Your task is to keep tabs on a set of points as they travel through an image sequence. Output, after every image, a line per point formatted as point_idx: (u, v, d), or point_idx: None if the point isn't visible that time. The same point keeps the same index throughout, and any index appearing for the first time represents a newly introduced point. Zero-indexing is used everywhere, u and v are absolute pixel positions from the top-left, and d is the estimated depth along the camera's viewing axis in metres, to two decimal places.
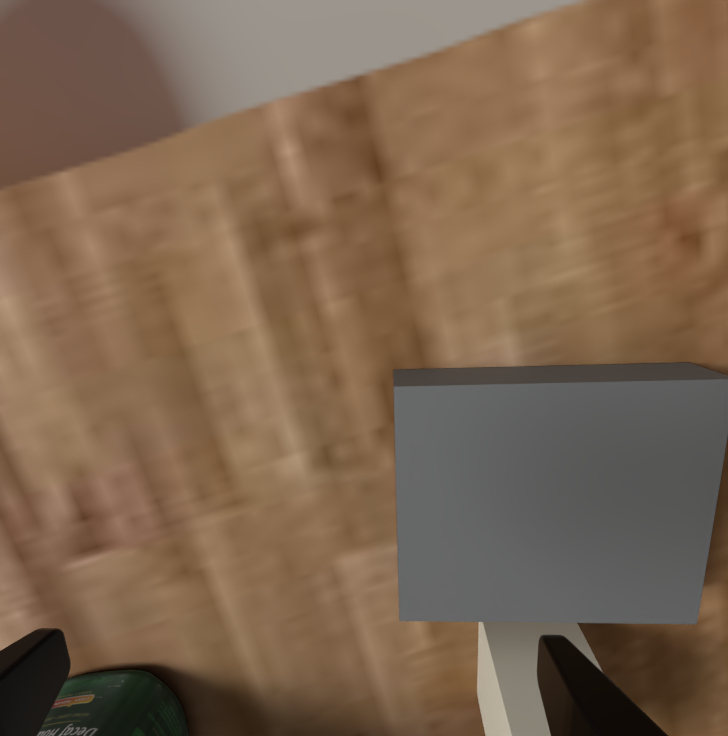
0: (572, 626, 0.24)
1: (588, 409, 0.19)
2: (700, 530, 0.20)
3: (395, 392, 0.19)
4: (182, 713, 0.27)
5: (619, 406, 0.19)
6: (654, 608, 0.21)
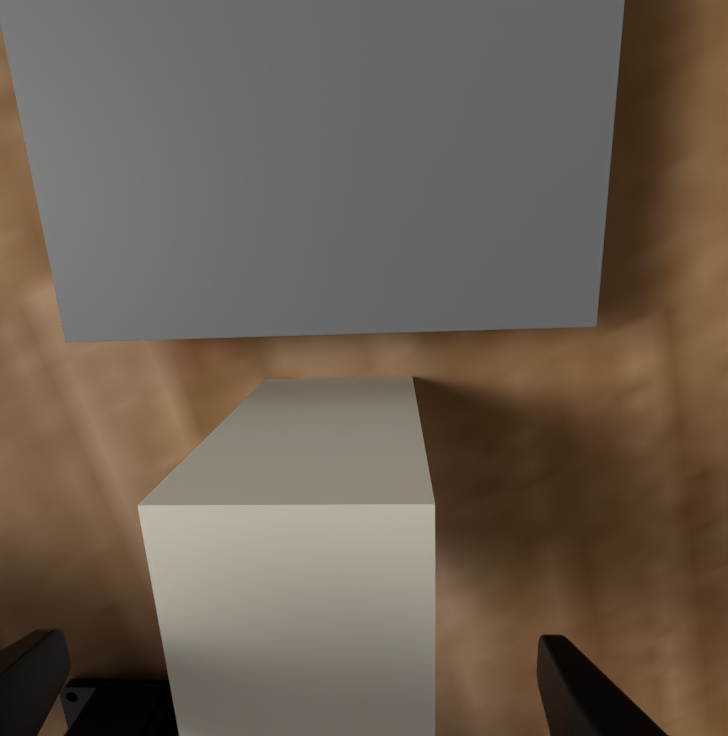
0: (402, 385, 0.14)
1: None
2: (592, 107, 0.10)
3: None
4: None
5: None
6: (516, 295, 0.11)
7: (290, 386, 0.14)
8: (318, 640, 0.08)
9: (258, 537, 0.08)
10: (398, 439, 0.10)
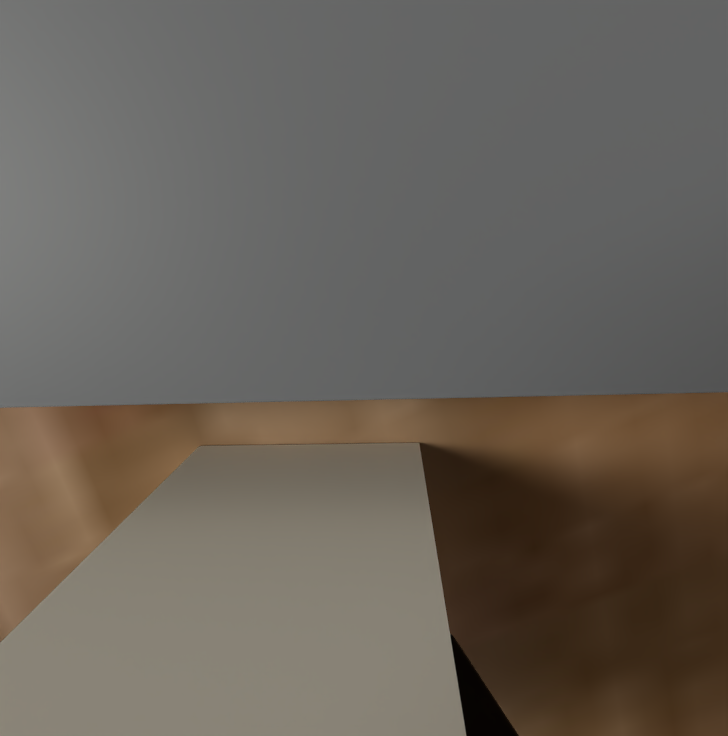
0: (404, 467, 0.09)
1: None
2: None
3: None
4: None
5: None
6: (613, 334, 0.06)
7: (230, 464, 0.09)
8: None
9: None
10: (398, 646, 0.05)
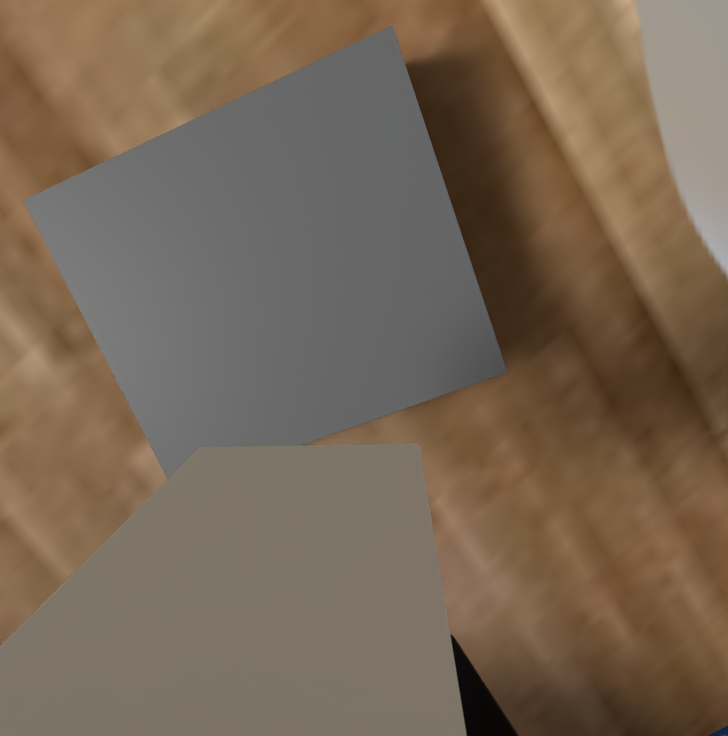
0: (405, 467, 0.09)
1: (242, 139, 0.15)
2: (449, 245, 0.15)
3: (27, 206, 0.16)
4: None
5: (275, 121, 0.15)
6: (447, 369, 0.16)
7: (231, 465, 0.09)
8: None
9: None
10: (399, 648, 0.05)
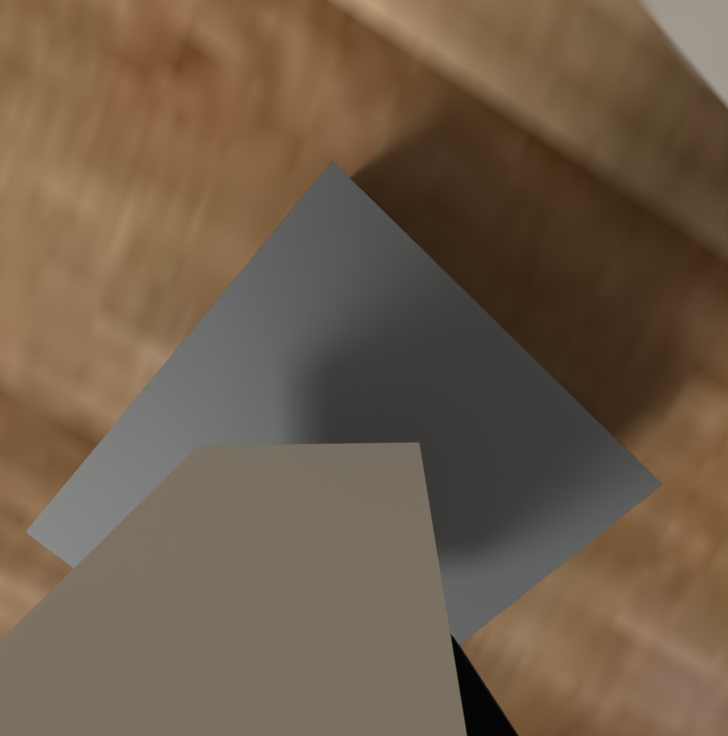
0: (404, 466, 0.09)
1: (220, 368, 0.12)
2: (520, 373, 0.11)
3: (32, 536, 0.13)
4: None
5: (247, 331, 0.12)
6: (582, 512, 0.12)
7: (230, 463, 0.09)
8: None
9: None
10: (399, 647, 0.05)
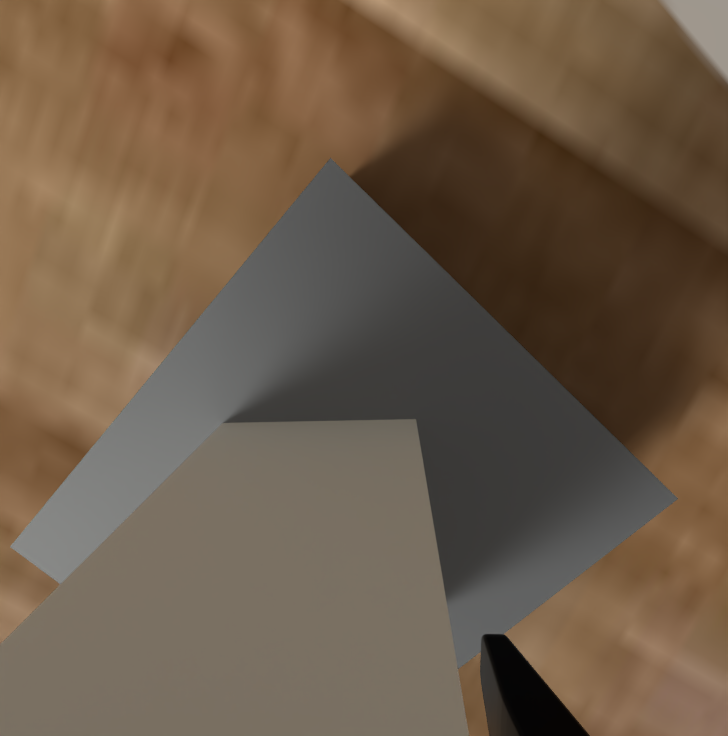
0: (403, 437, 0.10)
1: (213, 376, 0.11)
2: (529, 382, 0.11)
3: (17, 551, 0.13)
4: None
5: (240, 338, 0.11)
6: (593, 527, 0.12)
7: (252, 436, 0.11)
8: None
9: None
10: (398, 556, 0.06)
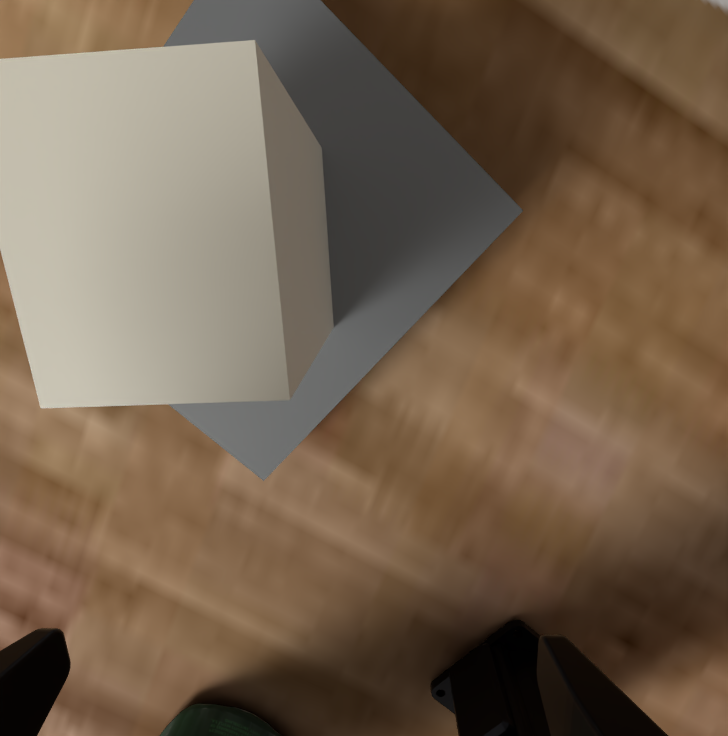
0: None
1: None
2: (405, 112, 0.14)
3: None
4: (251, 718, 0.25)
5: None
6: (461, 238, 0.15)
7: None
8: (155, 228, 0.08)
9: (81, 97, 0.07)
10: None
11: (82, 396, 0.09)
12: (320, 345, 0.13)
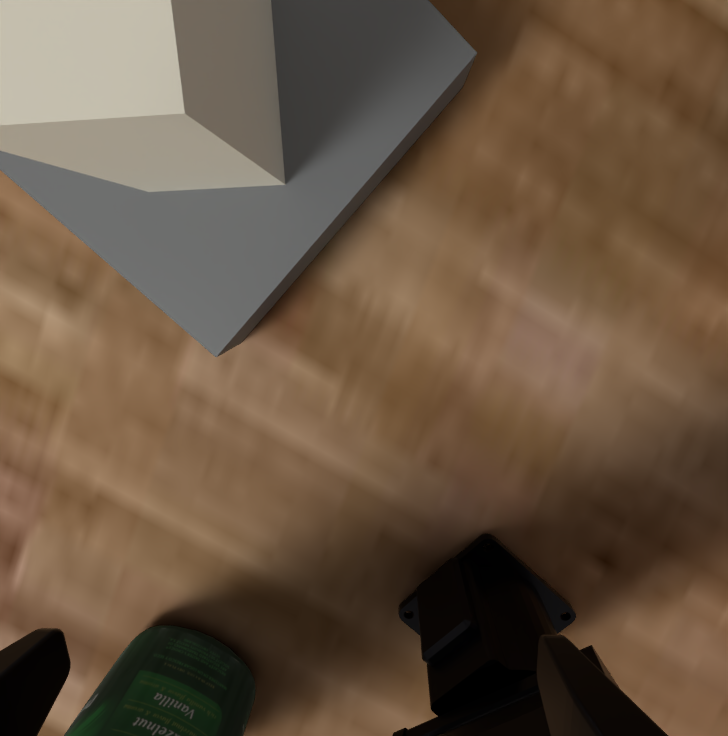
0: None
1: None
2: None
3: None
4: (212, 641, 0.24)
5: None
6: (414, 85, 0.15)
7: None
8: None
9: None
10: None
11: None
12: (255, 159, 0.12)
